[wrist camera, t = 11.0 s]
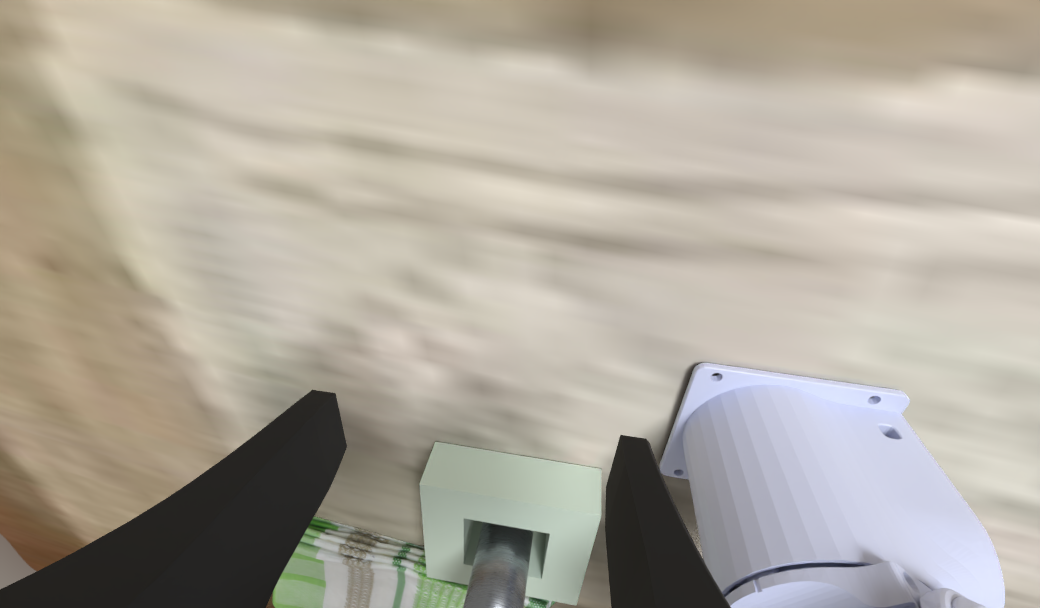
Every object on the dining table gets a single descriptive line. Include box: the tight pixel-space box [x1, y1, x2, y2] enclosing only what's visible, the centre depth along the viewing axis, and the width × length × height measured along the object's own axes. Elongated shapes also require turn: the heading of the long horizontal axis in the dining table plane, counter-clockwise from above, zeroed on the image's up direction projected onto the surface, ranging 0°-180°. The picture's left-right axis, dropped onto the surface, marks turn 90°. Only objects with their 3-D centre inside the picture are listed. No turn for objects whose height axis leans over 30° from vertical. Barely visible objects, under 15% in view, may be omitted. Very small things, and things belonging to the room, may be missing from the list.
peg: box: [463, 522, 533, 608], centre depth 27 cm, size 3×3×9 cm
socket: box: [419, 441, 601, 605], centre depth 29 cm, size 10×10×3 cm
